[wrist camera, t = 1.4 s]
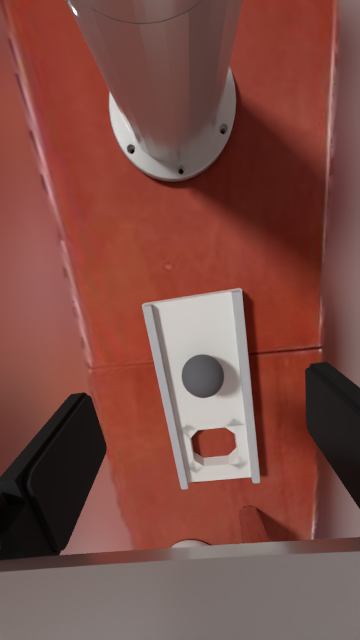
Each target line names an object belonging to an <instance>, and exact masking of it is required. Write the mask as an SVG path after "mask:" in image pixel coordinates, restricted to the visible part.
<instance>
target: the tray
mask: <svg viewBox="0 0 360 640" xmlns="http://www.w3.org/2000/svg"><path fill="white" fill-rule="evenodd" d="M142 308H143V312H144V317H145V322H146V326H147V331H148V336H149V340H150V345H151V350H152V354H153V359H154V364H155V368H156V373H157V378H158V382H159V387H160V392H161V396H162V401H163V406H164V410H165V415H166V420H167V424H168V429H169V434H170V438H171V443H172V448H173V452H174V457H175V462H176V466H177V471H178V476H179V480H180V485H181V489H188V482H198V481H210V480H221V479H233V478H245V477H251V478H252V481H253V483H260V473H259V462H258V452H257V442H256V431H255V421H254V410H253V400H252V389H251V379H250V369H249V358H248V348H247V337H246V327H245V316H244V306H243V296H242V290H241V289H240V288H237V289H231V290H224V291H218V292H212V293H205V294H199V295H193V296H186V297H180V298H174V299H167V300H161V301H155V302H148V303H144V304H143V305H142ZM201 354H205V355H209V356H211V357H213V358H215V359H216V360H217V361H218V362H219V363H220V364H221V366H222V368H223V372H224V382H223V385H222V387H221V389H220V390H219V391H218V392H217V393H216V394H215V395H213V396H211V397H208V398H199V397H196V396H193V395H192V394H190V393H189V392H188V391H187V390H186V388H185V387H184V385H183V382H182V369H183V367H184V365H185V363H186V362H187V361H188V360H189V359H190V358H192V357H193V356H196V355H201ZM222 427H225V428H227V429H229V430H230V431H232V432H233V433H235V440H236V448H235V449H234V450H233V451H232V452H231V453H230V454H229V455H228V456H218V457H207V458H203V457H202V456H200V455H198V454H197V453H195V452H194V450H193V445H192V440H191V437H192V436H193V435H194V434H195V433H196V432H197V431H198V430H204V429H213V428H222Z"/></svg>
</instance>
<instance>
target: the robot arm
mask: <svg viewBox="0 0 360 640" xmlns="http://www.w3.org/2000/svg"><path fill="white" fill-rule="evenodd" d="M66 2H67V4H68V6H69V8H70V10H71V12H72V14H73V16H74V18H75V20H76V22H77V24H78V26H79V28H80V31H81V33H82V35H83V37H84V39H85V41H86V43H87V45H88V47H89V49H90V51H91V53H92V55H93V57H94V59H95V61H96V63H97V66H98V68H99V70H100V72H101V74H102V76H103V78H104V80H105V82H106V84H107V86H108V88H109V90H110V91H109V113H110V121H111V125H112V128H113V132H114V135H115V137H116V139H117V141H118V144H119V146H120V148H121V149H122V151H123V152H124V154H125V155H126V157H127V158H128V159H129V160H130V162H131V163H132V164H133V165H134V166H135V167H136V168H138V169H139V170H140V171H141V172H142V173H144V174H146V175H148V176H150V177H152V178H154V179H158V180H161V181H169V182H177V181H183V180H187V179H190V178H192V177H195V176H197V175H199V174H200V173H202V172H203V171H205V170H206V169H207V168H208V167H209V166H211V165H212V164H213V163H214V162H215V160H216V159H217V158H218V156H219V155H220V154H221V152H222V151H223V149H224V147H225V145H226V143H227V141H228V139H229V136H230V133H231V130H232V127H233V122H234V118H235V111H236V90H235V83H234V79H233V75H232V71H231V69H230V66H229V64H230V59H231V54H232V49H233V44H234V40H235V35H236V30H237V25H238V20H239V15H240V10H241V5H242V0H66ZM221 131H224V133H225V134H221V133H220V132H221ZM131 151H135V152H134V153H133V154H131ZM180 170H182V171H183V174H179V171H180ZM305 382H306V425H307V429H308V431H309V433H310V435H311V436H312V438H313V439H314V441H315V442H316V444H317V445H318V447H319V448H320V450H321V451H322V453H323V454H324V456H325V457H326V459H327V460H328V462H329V463H330V465H331V466H332V468H333V469H334V471H335V472H336V474H337V475H338V477H339V478H340V480H341V481H342V483H343V484H344V486H345V487H346V489H347V491H348V492H349V493H350V495H351V497H352V498H353V500H354V501H355V502H356V504H357V506H358V507H359V508H360V388H359V387H358V386H357V385H356V384H354V383H353V382H352V381H351V380H349V379H348V378H347V377H345V376H344V375H343V374H342V373H340V372H339V371H338V370H336V369H335V368H334V367H333V366H332V365H330V364H329V363H327V362H322V363H314V364H310V366H309V368H306V370H305ZM105 454H106V442H105V439H104V436H103V433H102V430H101V427H100V424H99V420H98V417H97V414H96V411H95V408H94V405H93V402H92V398H91V397H90V396H89V395H87V394H86V393H77V394H71V395H70V396H69V397H68V398H67V399H66V400H65V402H64V403H63V404H62V405H61V406H60V408H59V409H58V410H57V411H56V412H55V413H54V415H53V416H52V417H51V418H50V419H49V421H48V422H47V423H46V424H45V425H44V427H42V429H41V430H40V431H39V432H38V434H37V435H36V436H35V437H34V438H33V439H32V441H31V442H30V443H29V444H28V445H27V446H26V448H25V449H24V450H23V451H22V452H21V454H20V455H19V456H18V457H17V458H16V459H15V461H14V462H13V463H12V464H11V465H10V466H9V468H8V469H7V470H6V471H5V472H4V473H3V475H2V476H1V477H0V640H360V537H358V538H338V539H320V540H319V539H318V540H299V541H281V542H263V543H245V544H228V545H212V546H195V547H179V548H163V549H147V550H131V551H116V552H102V553H87V554H74V555H73V554H72V555H59V554H60V552H61V551H62V550H64V549H65V547H66V546H67V544H68V542H69V539H70V537H71V535H72V532H73V530H74V527H75V525H76V523H77V520H78V518H79V516H80V513H81V511H82V508H83V506H84V504H85V501H86V499H87V497H88V494H89V492H90V490H91V487H92V485H93V483H94V480H95V478H96V475H97V473H98V471H99V468H100V466H101V463H102V461H103V459H104V456H105Z"/></svg>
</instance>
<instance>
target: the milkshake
mask: <svg viewBox="0 0 360 640" xmlns="http://www.w3.org/2000/svg"><path fill="white" fill-rule="evenodd" d="M239 518H240V526H241V534H242V542H243V544H245V543H263V542H269V540H268V537H267V534H266V531H265V528H264V526H263V523H262V520H261V517H260V514H259V511H258V510H257V509H256V508H255V507H252V506H246V507H243V508H242V509H241V510H240V511H239Z"/></svg>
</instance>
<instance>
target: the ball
mask: <svg viewBox="0 0 360 640" xmlns="http://www.w3.org/2000/svg"><path fill="white" fill-rule="evenodd" d="M182 382H183V385H184V387H185V388H186V390H187V391H188V392H189V393H190V394H192V395H193V396H196V397H199V398H208V397H211V396H213V395H215V394H216V393H217V392H218V391H219V390H220V389H221V387H222V385H223V382H224V372H223V368H222V366H221V364H220V363H219V362H218V361H217V360H216V359H215V358H213V357H211V356H209V355H205V354H201V355H196V356H193V357H192V358H190V359H189V360H188V361H187V362H186V363H185V365H184V367H183V369H182Z"/></svg>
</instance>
